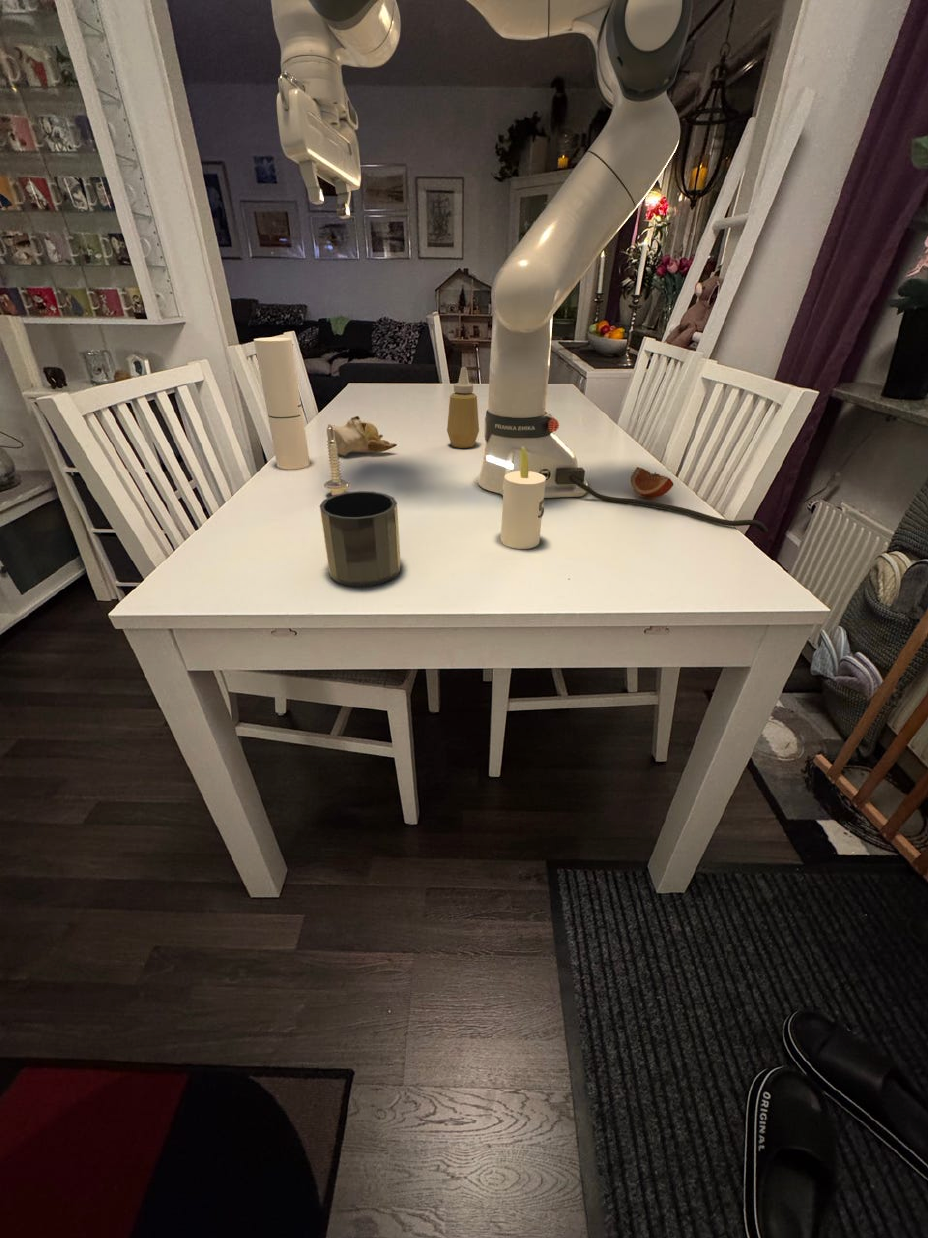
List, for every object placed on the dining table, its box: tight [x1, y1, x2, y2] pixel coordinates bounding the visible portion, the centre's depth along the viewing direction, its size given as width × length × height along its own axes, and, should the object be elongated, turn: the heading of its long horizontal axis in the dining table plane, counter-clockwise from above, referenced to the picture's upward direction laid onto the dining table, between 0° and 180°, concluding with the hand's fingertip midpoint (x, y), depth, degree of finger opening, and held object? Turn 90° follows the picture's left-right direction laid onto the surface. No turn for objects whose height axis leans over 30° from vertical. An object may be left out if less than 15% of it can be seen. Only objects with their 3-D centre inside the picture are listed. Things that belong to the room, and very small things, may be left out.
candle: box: [500, 446, 546, 550], centre depth 81 cm, size 6×6×15 cm
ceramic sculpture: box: [327, 415, 398, 457], centre depth 123 cm, size 11×9×15 cm
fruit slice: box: [630, 466, 674, 500], centre depth 101 cm, size 8×7×5 cm
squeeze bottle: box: [446, 366, 480, 449], centre depth 127 cm, size 8×8×18 cm
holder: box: [318, 490, 402, 588], centre depth 73 cm, size 10×10×10 cm
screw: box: [323, 426, 351, 496], centre depth 98 cm, size 13×5×5 cm
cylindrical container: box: [253, 336, 311, 470], centre depth 110 cm, size 7×7×25 cm
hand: (331, 210), depth 85 cm, fingers open, 8 cm apart
